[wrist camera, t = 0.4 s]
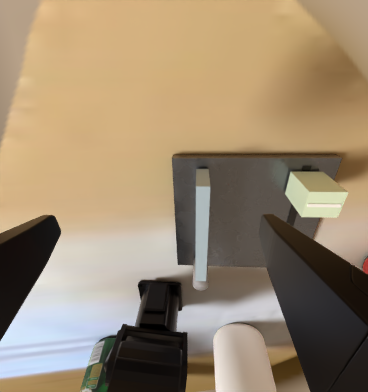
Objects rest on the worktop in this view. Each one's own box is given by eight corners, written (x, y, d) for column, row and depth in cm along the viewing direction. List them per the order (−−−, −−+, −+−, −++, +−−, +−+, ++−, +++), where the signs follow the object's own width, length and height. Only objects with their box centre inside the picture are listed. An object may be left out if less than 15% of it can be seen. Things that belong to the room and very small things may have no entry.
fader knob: (315, 194, 22) (338, 218, 18) (285, 193, 22) (301, 217, 18) (323, 171, 20) (349, 192, 17) (290, 171, 20) (309, 192, 17)
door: (207, 266, 28) (208, 292, 25) (193, 265, 28) (192, 291, 25) (211, 168, 21) (214, 186, 18) (193, 168, 21) (192, 186, 18)
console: (297, 262, 28) (301, 269, 27) (178, 258, 29) (177, 265, 28) (336, 154, 21) (342, 158, 20) (173, 154, 22) (171, 158, 21)
